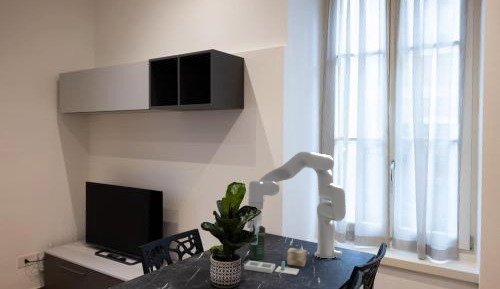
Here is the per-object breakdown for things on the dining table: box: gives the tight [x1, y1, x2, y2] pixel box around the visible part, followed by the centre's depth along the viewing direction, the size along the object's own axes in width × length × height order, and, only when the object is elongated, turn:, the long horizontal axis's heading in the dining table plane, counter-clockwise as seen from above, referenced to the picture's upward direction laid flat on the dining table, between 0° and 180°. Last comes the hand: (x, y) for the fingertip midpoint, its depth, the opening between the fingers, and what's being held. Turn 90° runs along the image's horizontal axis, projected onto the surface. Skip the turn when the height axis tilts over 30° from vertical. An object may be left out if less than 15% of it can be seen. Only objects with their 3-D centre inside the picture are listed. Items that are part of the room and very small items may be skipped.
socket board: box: [243, 260, 276, 274], centre depth 178 cm, size 14×8×2 cm, turn 72°
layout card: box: [274, 260, 300, 276], centre depth 176 cm, size 11×8×5 cm
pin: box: [251, 227, 258, 245], centre depth 178 cm, size 3×3×9 cm
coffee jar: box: [248, 225, 266, 261], centre depth 196 cm, size 10×8×19 cm
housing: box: [286, 247, 307, 267], centre depth 187 cm, size 9×6×8 cm
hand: (254, 240), depth 178 cm, fingers closed on pin, 3 cm apart
